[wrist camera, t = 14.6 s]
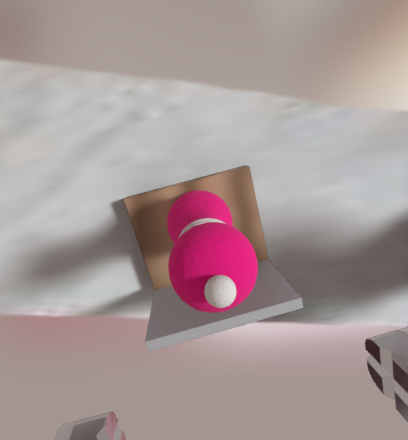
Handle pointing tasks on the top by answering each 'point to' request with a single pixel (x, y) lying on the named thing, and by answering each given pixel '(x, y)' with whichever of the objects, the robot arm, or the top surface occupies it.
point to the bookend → (162, 245)
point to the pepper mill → (209, 254)
